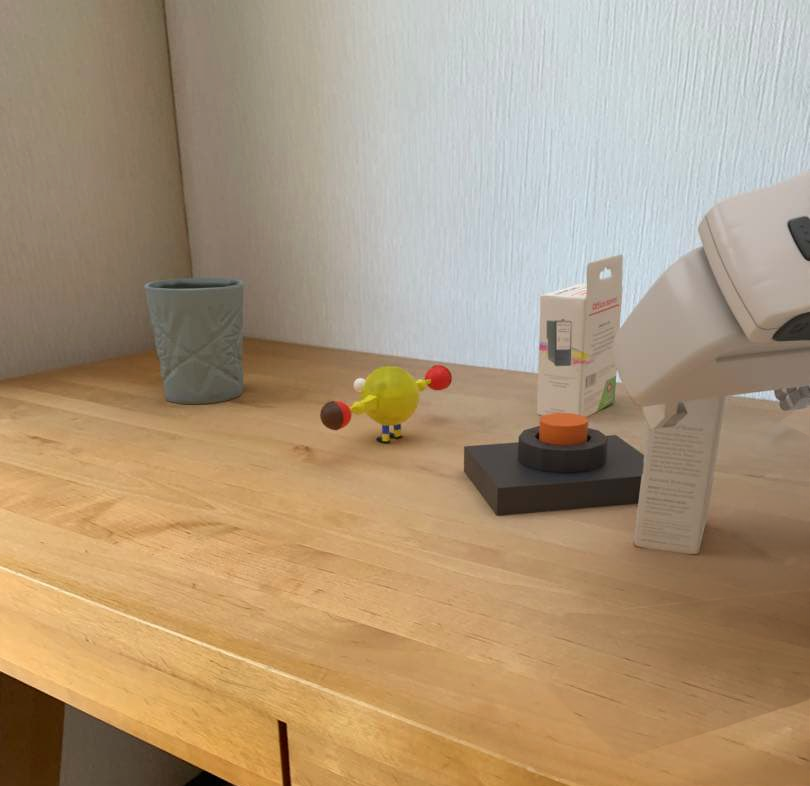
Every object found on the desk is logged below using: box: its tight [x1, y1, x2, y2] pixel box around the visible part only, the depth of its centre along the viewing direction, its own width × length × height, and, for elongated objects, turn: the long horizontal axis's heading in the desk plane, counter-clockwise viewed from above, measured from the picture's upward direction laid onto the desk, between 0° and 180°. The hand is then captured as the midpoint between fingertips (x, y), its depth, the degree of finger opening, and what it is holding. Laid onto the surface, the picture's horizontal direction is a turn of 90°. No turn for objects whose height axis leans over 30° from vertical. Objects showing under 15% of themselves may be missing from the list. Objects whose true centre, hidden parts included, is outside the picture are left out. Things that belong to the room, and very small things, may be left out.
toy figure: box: [319, 364, 453, 445], centre depth 79 cm, size 18×6×7 cm, turn 145°
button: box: [539, 413, 589, 445], centre depth 66 cm, size 4×4×2 cm
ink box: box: [536, 253, 624, 418], centre depth 86 cm, size 9×5×15 cm, turn 144°
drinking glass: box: [143, 277, 245, 405], centre depth 95 cm, size 10×10×12 cm
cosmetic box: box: [633, 396, 727, 555], centre depth 56 cm, size 6×4×12 cm
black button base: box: [463, 425, 644, 517], centre depth 67 cm, size 13×10×4 cm
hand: (723, 408), depth 52 cm, fingers open, 8 cm apart
